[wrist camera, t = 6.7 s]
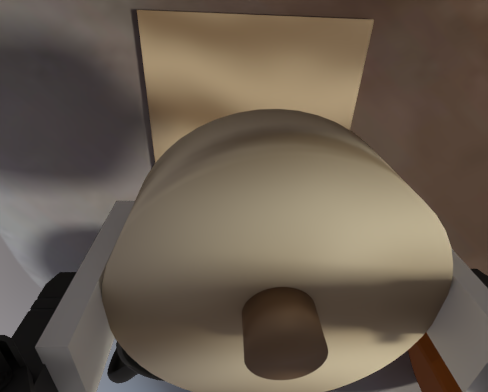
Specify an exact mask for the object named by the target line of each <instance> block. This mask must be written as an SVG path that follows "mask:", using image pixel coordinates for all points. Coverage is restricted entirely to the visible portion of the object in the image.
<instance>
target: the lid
mask: <svg viewBox="0 0 488 392" xmlns="http://www.w3.org/2000/svg"><path fill="white" fill-rule="evenodd" d="M452 274H453V258H452V249H451V245H450V242H449V239H448V236H447V233H446V231H445V229H444V227H443V226H442V224H441V222H440V220H439V219H438V217H437V215H436V214H435V213H434V212H433V211H432V210H431V209H430V207H429V206H428V205H427V204H426V203H425V202H424V201H423V200H422V199H421V198H420V197H419V196H418V195H417V194H416V193H415V192H414V191H413V190H412V189H411V188H410V187H409V186H408V185H407V184H406V183H405V182H404V181H403V179H402V178H401V177H400V176H399V175H398V174H397V173H396V172H395V171H394V170H393V169H392V168H391V167H390V166H389V165H388V164H387V163H386V162H385V161H384V160H383V159H382V158H381V157H380V156H379V155H378V154H377V153H376V152H375V151H374V150H373V149H372V148H371V147H370V146H369V145H368V144H367V143H366V142H365V141H363V140H362V139H361V138H360V137H358V136H357V135H356V134H354V133H353V132H352V131H350V130H349V129H347V128H345V127H343V126H342V125H340V124H338V123H336V122H334V121H331V120H329V119H326V118H324V117H321V116H319V115H315V114H311V113H306V112H302V111H297V110H286V109H258V110H251V111H245V112H239V113H235V114H231V115H228V116H225V117H222V118H218V119H215V120H213V121H211V122H209V123H207V124H204V125H202V126H200V127H198V128H196V129H195V130H193V131H191V132H190V133H188V134H187V135H185V136H184V137H182V138H181V139H179V140H178V141H177V142H176V143H175V144H173V145H172V146H171V147H170V148H169V149H168V150H166V152H165V153H164V154H163V155H162V156H161V157H160V158H159V159H158V161H157V162H156V163H155V164H154V166H153V167H152V169H151V170H150V172H149V173H148V175H147V177H146V178H145V180H144V183H143V185H142V187H141V189H140V191H139V194H138V196H137V198H136V200H135V202H134V205H133V207H132V209H131V211H130V213H129V216H128V218H127V220H126V222H125V225H124V227H123V229H122V231H121V233H120V236H119V238H118V240H117V242H116V244H115V247H114V249H113V251H112V253H111V256H110V258H109V260H108V263H107V265H106V269H105V273H104V278H103V282H102V302H103V306H104V309H105V313H106V316H107V320H108V323H109V327H110V330H111V332H112V333H113V335H114V337H115V338H116V340H117V342H118V343H119V344H120V346H121V347H122V348H123V349H124V350H125V351H126V353H127V354H128V355H129V356H130V357H131V358H132V359H134V360H135V361H136V362H137V363H138V364H139V365H140V366H142V367H143V368H145V369H146V370H148V371H149V372H150V373H152V374H153V375H155V376H157V377H159V378H161V379H163V380H164V381H166V382H169V383H171V384H173V385H176V386H178V387H180V388H183V389H186V390H189V391H192V392H326V391H330V390H333V389H336V388H339V387H342V386H345V385H348V384H350V383H353V382H355V381H357V380H360V379H362V378H364V377H367V376H368V375H370V374H372V373H374V372H376V371H378V370H380V369H382V368H383V367H385V366H386V365H388V364H389V363H391V362H393V361H394V360H396V359H397V358H398V357H400V356H401V355H402V354H403V353H405V352H406V351H407V350H409V349H410V348H411V347H412V346H413V345H414V344H415V343H416V342H417V341H418V340H419V339H420V338H421V337H422V336H423V335H424V334H425V333H426V331H427V330H428V329H429V328H430V327H431V325H432V324H433V322H434V320H435V318H436V317H437V315H438V313H439V311H440V309H441V307H442V305H443V303H444V302H445V300H446V298H447V296H448V293H449V290H450V286H451V282H452Z"/></svg>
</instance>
